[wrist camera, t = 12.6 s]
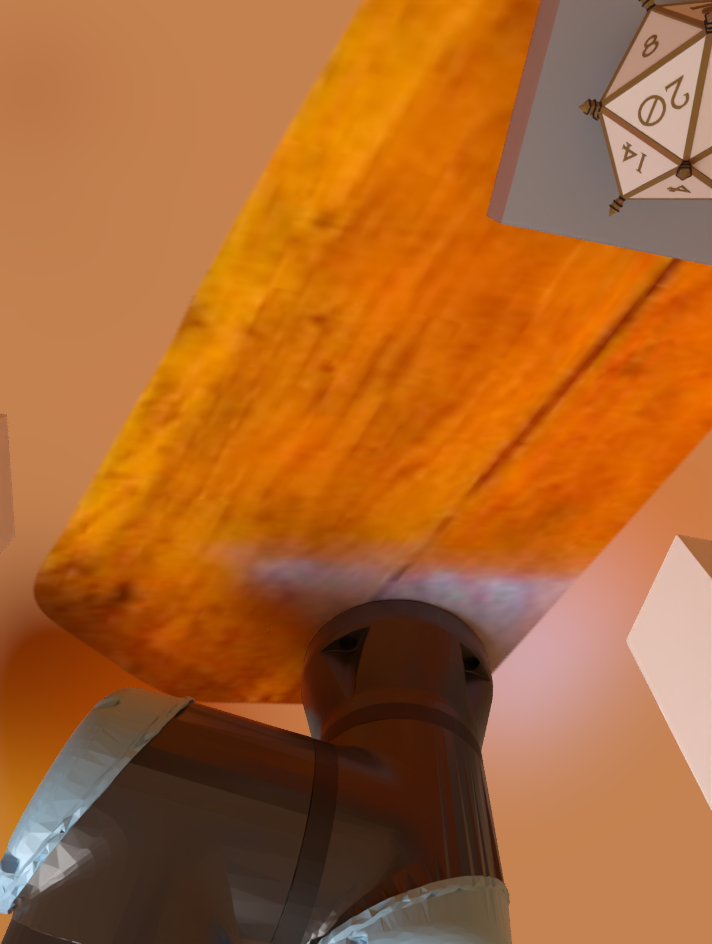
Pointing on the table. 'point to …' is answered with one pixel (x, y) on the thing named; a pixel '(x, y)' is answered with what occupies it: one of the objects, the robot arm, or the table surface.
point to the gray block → (583, 141)
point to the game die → (661, 107)
